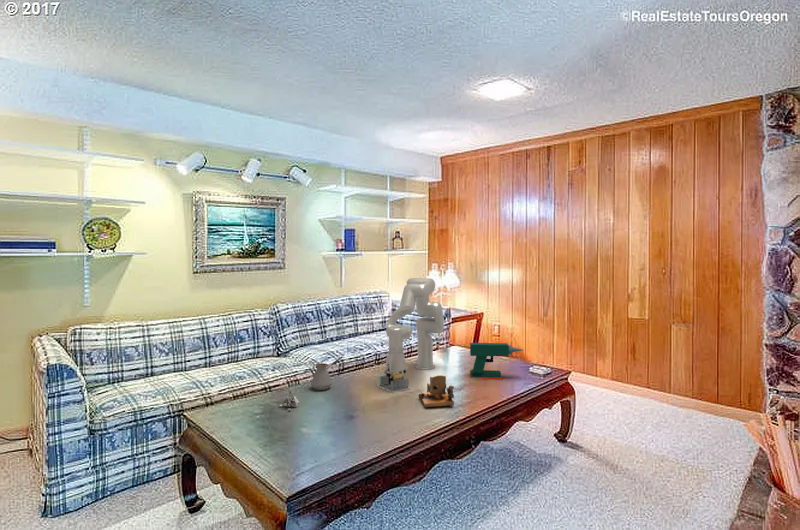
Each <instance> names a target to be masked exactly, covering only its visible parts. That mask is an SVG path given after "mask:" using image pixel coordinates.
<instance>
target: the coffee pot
mask: <svg viewBox="0 0 800 530" xmlns="http://www.w3.org/2000/svg"><path fill="white" fill-rule="evenodd" d="M341 359H342V360H345V357H344V356H340V357H338V358H337V359H335V360H334V361H333V362H332V363H331V364H329V365H328V363H322V362H320V363H316V364H315V367H316V370H315V372H314V374H313V377H312V379H311V382H310V385H311V387H312V388H313V389H314V390H316V391H326V390H327V389H329V388H330V387H331V386H332V385H333V381H332V379H331V376H330V374H329V371H328V369H330V368H331V367H332V366H333V365H335V364H336V363H338V362H339V361H341Z"/></svg>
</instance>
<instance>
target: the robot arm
mask: <svg viewBox="0 0 800 530" xmlns="http://www.w3.org/2000/svg"><path fill="white" fill-rule="evenodd" d="M435 288H436V281H435V280H434V279H433V278H428V277H427V278H425V277H424V278H422V277H410V278H408V279H407V280H406V285H405V286H404V287H403V290H402V295H401V299H400V304H399V307H397V309H395V310H394V312H392V314H391V315H390V316H389V318H388V321H387V325H386V329H385V333H386V336H387V337H388V352H387V354H386V359H385V360H386V361H385V369H384V370H383V374H386V375H387V377H388V383H389V385H391V381H392V380H393V378H392V376H393V373H396V372H400V373H402V374H403V377H404V376H405V374H406V372H407V371H408V370H409V367H408V366H407V365H406V358H405V353H404V350H405V347H404V345H403V344H404V340H408V339H410V338H411V337H412V335H413V329H412V327H411V326H409V325H403V324H396V323H397V321H398V320H400V318H403V317H404V316H405V317H406V316H408V315H410V314H412V313H413V312H414V311H415V308H416V313H417V315H418V316H419V318H417V320H416V322H415V327H416V333H417V335H416V336H417V359H415V361H414V362H415V363H416V364H415V365H414V367H416V368H415V369H417V368H418V369H417V370H421V369H422V370H423V371H427V370H428V371H429V369H430V370H433V369H436V365H435V364H434V363H433V362H434V359H433V357H434V353H433V352H434V349H433V347H434V345H433V344H434V342H433V337H432V334H442V333H443V332H444V330H445V322H444V313H443V306H442V304H441V303H440V302H438V301H431V299H430V295H432V293H433V292H434V291H435ZM422 370H421V371H422Z"/></svg>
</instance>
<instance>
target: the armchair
mask: <svg viewBox="0 0 800 530" xmlns="http://www.w3.org/2000/svg"><path fill="white" fill-rule="evenodd" d="M446 381H447V376H446V375H440V374H437V375H434V376H430V377H429V383H427V384H426V393H423V392H420V393H419V394H418V398H419V399H420V401H421V402H422V404H423V406H424V407H426V408H432V407H446V406H454V405H455V401H454V400H453V399H455V394H454V390H455V387H454V384H453V385H452V384H450V385H449V386H448V387H447V382H446Z"/></svg>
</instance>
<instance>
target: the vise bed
mask: <svg viewBox="0 0 800 530" xmlns="http://www.w3.org/2000/svg"><path fill="white" fill-rule="evenodd" d="M376 386H377V387H379V388H380V389H383V390H385V391H387V392H389V393H392V394H393V393H400V392H405V391H409V390H410V387H409V378H407V377H403V379H398V380H392V381H391V385H389V384H384V385H378V383H377V384H376Z"/></svg>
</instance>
